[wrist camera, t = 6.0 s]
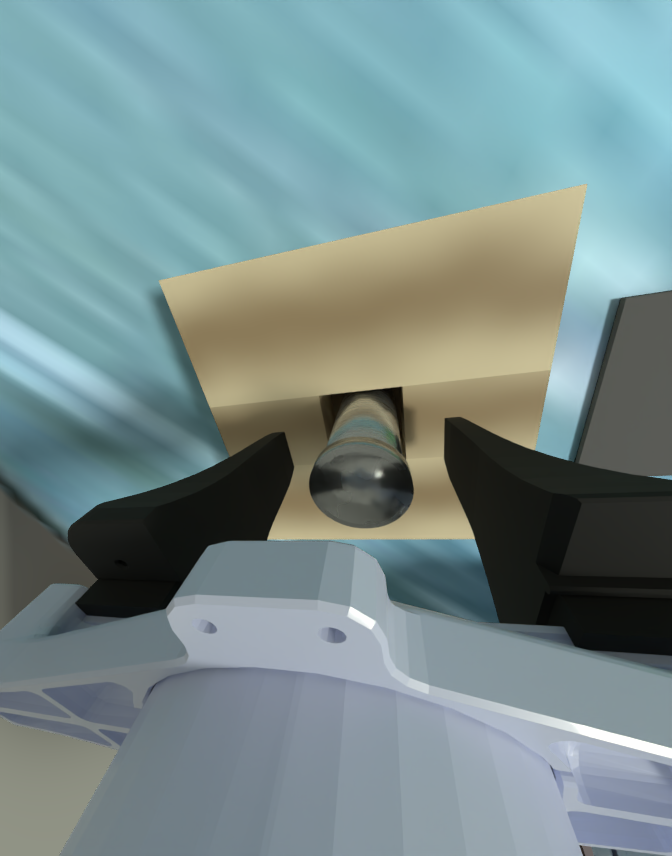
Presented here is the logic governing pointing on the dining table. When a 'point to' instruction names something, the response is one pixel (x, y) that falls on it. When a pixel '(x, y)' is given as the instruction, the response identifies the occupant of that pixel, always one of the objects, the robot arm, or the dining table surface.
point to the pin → (363, 464)
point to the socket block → (386, 344)
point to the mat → (634, 392)
